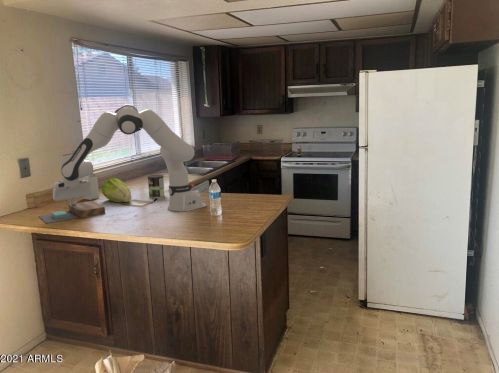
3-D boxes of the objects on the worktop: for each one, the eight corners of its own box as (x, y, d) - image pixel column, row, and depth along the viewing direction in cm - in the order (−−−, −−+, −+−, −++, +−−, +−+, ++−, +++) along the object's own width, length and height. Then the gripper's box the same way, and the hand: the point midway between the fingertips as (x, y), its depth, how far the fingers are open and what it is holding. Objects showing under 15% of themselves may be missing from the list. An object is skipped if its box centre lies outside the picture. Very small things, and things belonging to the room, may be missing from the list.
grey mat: (68, 211, 250) (68, 211, 250) (77, 218, 234) (77, 217, 234) (38, 216, 241) (38, 216, 241) (46, 223, 225) (46, 223, 225)
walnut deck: (93, 207, 260) (92, 200, 259) (105, 213, 242) (104, 206, 241) (69, 211, 251) (68, 204, 251) (80, 218, 234) (79, 211, 233)
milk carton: (90, 200, 280) (87, 171, 276) (83, 199, 284) (80, 171, 280) (99, 197, 286) (96, 170, 282) (92, 196, 290) (90, 169, 286)
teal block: (51, 212, 239) (52, 215, 240) (55, 215, 232) (55, 219, 233) (62, 210, 243) (63, 214, 243) (67, 213, 236) (67, 217, 236)
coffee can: (153, 199, 277) (151, 177, 274) (146, 196, 285) (145, 176, 282) (167, 196, 283) (166, 175, 280) (160, 194, 291) (159, 174, 288)
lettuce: (139, 208, 274) (116, 215, 264) (121, 190, 289) (99, 197, 279) (138, 188, 266) (114, 196, 257) (120, 172, 281) (97, 178, 272)
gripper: (88, 179, 248) (90, 202, 250) (50, 183, 236) (53, 208, 238) (91, 180, 243) (93, 204, 245) (53, 185, 231) (56, 210, 233)
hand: (73, 206), depth 242 cm, fingers closed
